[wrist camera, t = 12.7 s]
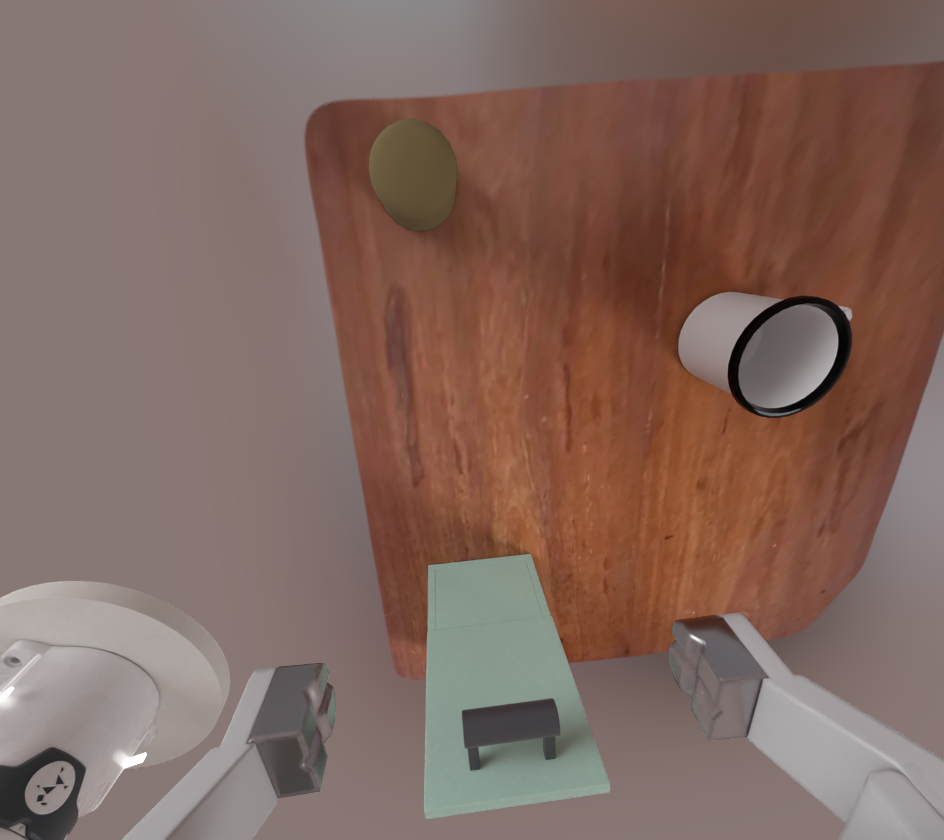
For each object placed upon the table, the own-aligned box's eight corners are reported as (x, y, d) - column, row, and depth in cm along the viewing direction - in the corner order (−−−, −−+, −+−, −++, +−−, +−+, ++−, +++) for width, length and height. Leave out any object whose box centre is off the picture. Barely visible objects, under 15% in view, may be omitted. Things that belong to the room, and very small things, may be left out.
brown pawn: (443, 134, 33) (448, 86, 23) (465, 218, 35) (479, 208, 25) (367, 158, 33) (339, 121, 23) (394, 240, 36) (380, 239, 25)
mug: (684, 400, 43) (745, 437, 35) (659, 314, 40) (720, 333, 31) (800, 346, 42) (891, 372, 34) (785, 253, 39) (882, 256, 30)
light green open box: (532, 640, 54) (550, 711, 46) (439, 652, 53) (441, 725, 45) (530, 553, 49) (550, 615, 41) (428, 565, 48) (427, 630, 40)
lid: (610, 792, 27) (613, 733, 25) (425, 819, 27) (415, 761, 25) (552, 622, 40) (551, 576, 39) (428, 637, 40) (421, 591, 38)
